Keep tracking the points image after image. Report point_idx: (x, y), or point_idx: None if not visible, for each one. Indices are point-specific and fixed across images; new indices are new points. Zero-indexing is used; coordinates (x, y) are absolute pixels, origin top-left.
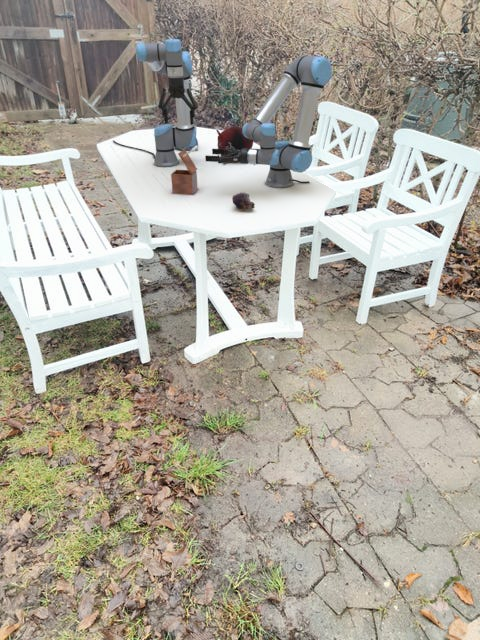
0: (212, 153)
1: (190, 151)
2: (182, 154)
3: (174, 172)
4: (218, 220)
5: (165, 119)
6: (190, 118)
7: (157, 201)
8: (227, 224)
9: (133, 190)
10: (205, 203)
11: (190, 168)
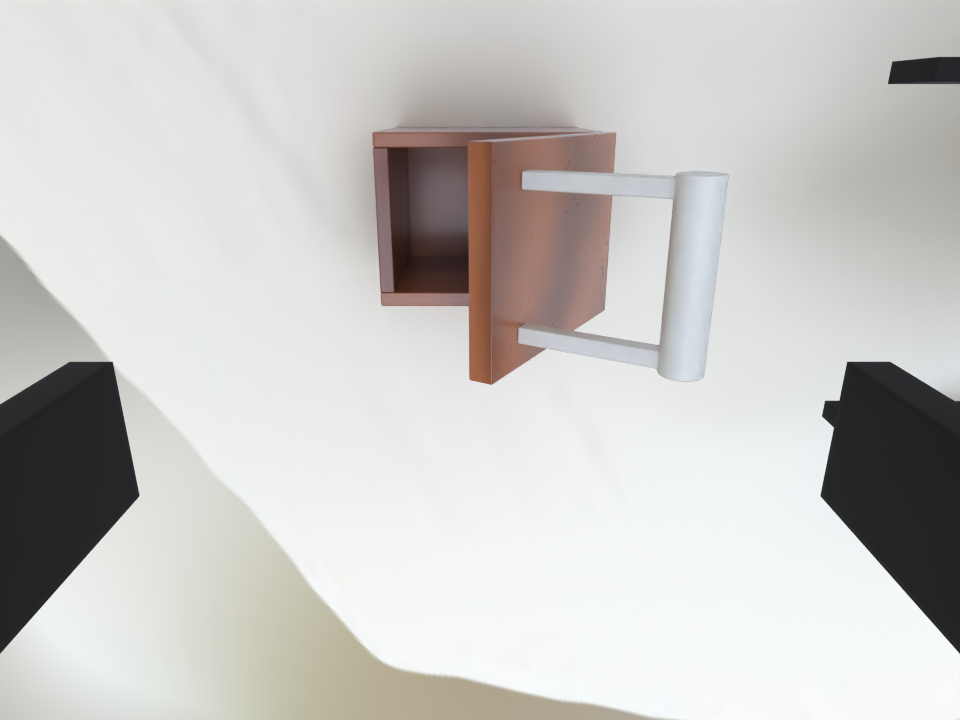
0: (895, 82)
1: (643, 365)
2: (512, 322)
3: (392, 238)
4: (815, 641)
5: (58, 566)
6: (928, 603)
7: (359, 440)
8: (868, 677)
9: (61, 253)
10: (700, 418)
11: (587, 291)
